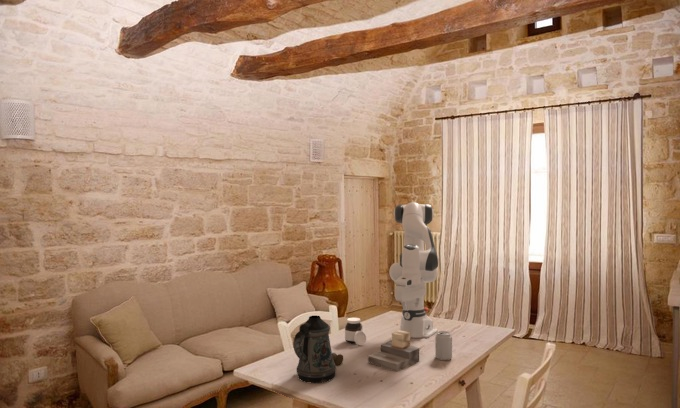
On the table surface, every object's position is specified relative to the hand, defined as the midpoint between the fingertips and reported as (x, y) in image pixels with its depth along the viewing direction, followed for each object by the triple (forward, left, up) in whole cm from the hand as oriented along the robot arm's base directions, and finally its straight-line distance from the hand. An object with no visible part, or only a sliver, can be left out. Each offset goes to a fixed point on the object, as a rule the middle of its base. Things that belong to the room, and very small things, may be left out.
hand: (411, 308), depth 226 cm
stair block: (+14, 0, -22) cm, 26 cm away
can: (-5, +14, -22) cm, 27 cm away
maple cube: (+9, 0, -16) cm, 18 cm away
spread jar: (+5, -31, -22) cm, 38 cm away
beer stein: (+51, -13, -22) cm, 57 cm away
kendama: (+33, -24, -22) cm, 47 cm away
